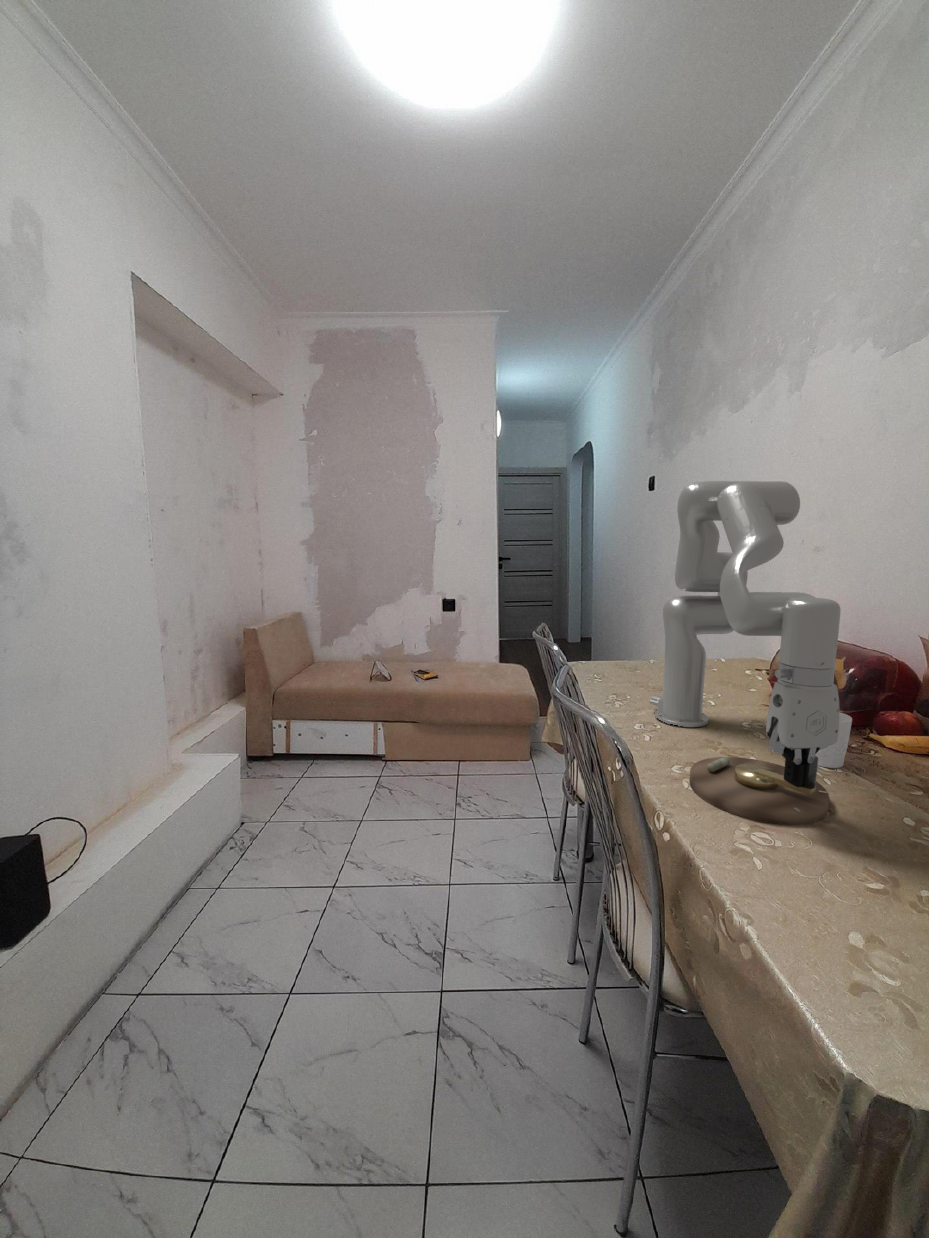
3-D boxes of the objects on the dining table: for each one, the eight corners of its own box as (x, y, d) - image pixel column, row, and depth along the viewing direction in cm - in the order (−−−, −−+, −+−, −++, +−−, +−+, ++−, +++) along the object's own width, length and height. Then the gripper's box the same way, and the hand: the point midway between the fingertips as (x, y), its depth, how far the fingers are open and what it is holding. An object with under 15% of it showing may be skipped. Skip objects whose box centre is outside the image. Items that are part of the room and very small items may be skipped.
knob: (727, 778, 96) (730, 741, 95) (744, 768, 101) (747, 732, 100) (805, 805, 86) (809, 764, 85) (821, 793, 91) (825, 753, 90)
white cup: (854, 771, 105) (860, 722, 103) (810, 767, 106) (815, 720, 105) (835, 755, 112) (840, 710, 111) (794, 752, 114) (799, 707, 112)
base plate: (665, 786, 98) (666, 767, 98) (726, 757, 111) (727, 741, 111) (794, 839, 81) (796, 817, 80) (848, 797, 94) (851, 778, 93)
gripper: (784, 684, 79) (774, 798, 82) (865, 678, 82) (853, 789, 85) (747, 672, 87) (739, 777, 89) (824, 667, 90) (814, 769, 92)
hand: (795, 783), depth 87 cm, fingers closed
